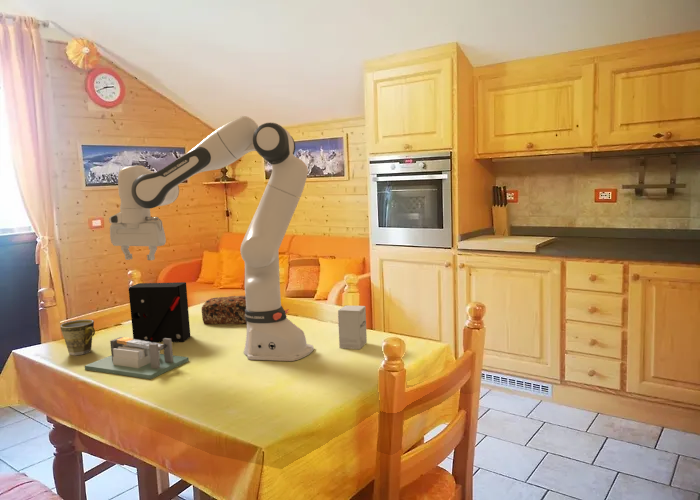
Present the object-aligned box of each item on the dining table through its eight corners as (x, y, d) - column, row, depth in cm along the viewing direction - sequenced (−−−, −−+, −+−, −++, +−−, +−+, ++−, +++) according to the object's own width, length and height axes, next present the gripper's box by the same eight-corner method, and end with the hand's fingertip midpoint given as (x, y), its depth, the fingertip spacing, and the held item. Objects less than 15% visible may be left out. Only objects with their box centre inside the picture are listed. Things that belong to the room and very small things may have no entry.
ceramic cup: (56, 355, 178) (53, 325, 176) (83, 346, 186) (80, 318, 185) (83, 359, 172) (80, 329, 171) (109, 350, 181) (106, 321, 179)
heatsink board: (188, 361, 166) (186, 334, 165) (150, 379, 152) (147, 350, 151) (126, 353, 177) (123, 328, 176) (84, 369, 162) (82, 342, 161)
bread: (256, 317, 217) (254, 293, 215) (247, 325, 206) (245, 299, 205) (212, 318, 220) (210, 294, 218) (201, 325, 209) (199, 300, 208)
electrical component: (192, 335, 195) (188, 281, 192) (181, 343, 185) (176, 286, 182) (146, 335, 197) (141, 282, 194) (132, 344, 187) (127, 287, 184)
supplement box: (360, 349, 170) (359, 311, 169) (338, 348, 173) (337, 310, 171) (367, 342, 177) (366, 305, 176) (346, 341, 180) (344, 304, 178)
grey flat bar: (166, 348, 161) (166, 344, 161) (158, 351, 158) (157, 347, 157) (125, 340, 167) (125, 336, 167) (116, 343, 164) (115, 339, 164)
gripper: (168, 215, 170) (172, 258, 172) (120, 216, 178) (124, 257, 180) (153, 217, 164) (157, 262, 166) (104, 218, 173) (109, 260, 174)
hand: (139, 259), depth 173 cm, fingers open, 8 cm apart
